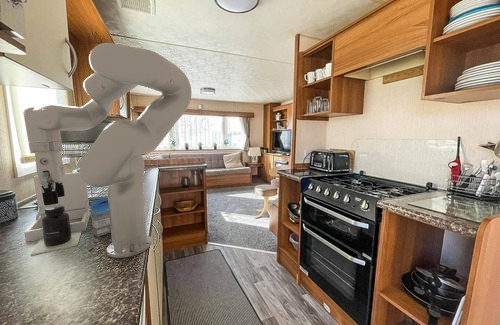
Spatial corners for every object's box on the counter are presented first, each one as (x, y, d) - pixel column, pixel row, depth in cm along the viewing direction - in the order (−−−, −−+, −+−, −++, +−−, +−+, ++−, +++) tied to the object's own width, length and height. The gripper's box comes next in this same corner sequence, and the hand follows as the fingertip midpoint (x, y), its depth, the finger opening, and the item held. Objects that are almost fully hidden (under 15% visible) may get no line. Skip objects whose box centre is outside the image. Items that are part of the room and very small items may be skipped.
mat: (77, 245, 69) (77, 243, 69) (30, 255, 63) (30, 254, 63) (81, 232, 79) (81, 230, 78) (41, 240, 73) (41, 238, 73)
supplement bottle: (48, 249, 66) (43, 212, 64) (41, 243, 70) (36, 208, 68) (75, 240, 72) (71, 205, 70) (67, 234, 75) (63, 202, 74)
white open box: (85, 230, 80) (79, 179, 77) (25, 242, 71) (16, 185, 69) (90, 214, 95) (85, 171, 92) (41, 222, 87) (34, 175, 84)
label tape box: (97, 237, 75) (93, 203, 73) (93, 234, 77) (89, 201, 75) (124, 228, 82) (121, 197, 80) (119, 225, 84) (116, 195, 82)
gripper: (56, 148, 61) (65, 205, 64) (67, 146, 76) (74, 192, 78) (19, 149, 57) (30, 210, 60) (38, 147, 72) (46, 196, 74)
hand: (55, 200), depth 69 cm, fingers open, 9 cm apart
